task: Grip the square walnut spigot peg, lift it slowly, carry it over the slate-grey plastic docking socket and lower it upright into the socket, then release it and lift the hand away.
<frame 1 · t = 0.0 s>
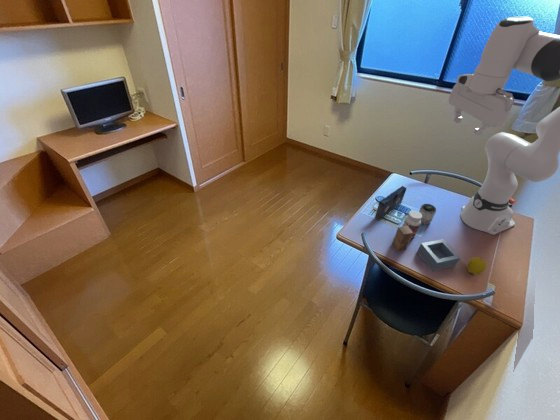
hand: (466, 128, 92), 48 cm above the table, tool pointing down, fingers open, 8 cm apart
pill bottle: (407, 233, 123), on the table
walnut spigot peg: (398, 247, 117), on the table
camera lens: (423, 220, 130), on the table
docking socket: (435, 258, 112), on the table
vhs cassette tape: (387, 211, 134), on the table
lemon: (471, 272, 108), on the table
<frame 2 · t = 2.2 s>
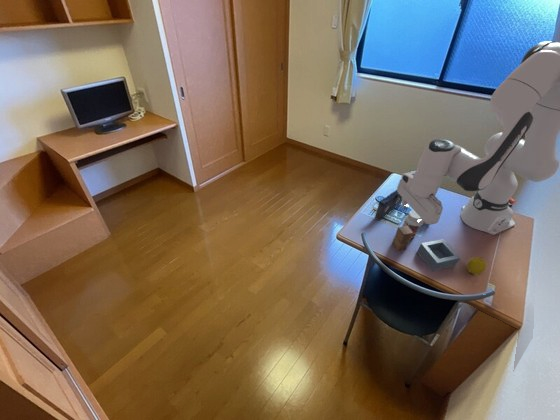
hand: (411, 216, 106), 17 cm above the table, tool pointing down, fingers open, 8 cm apart
nothing on the table moved.
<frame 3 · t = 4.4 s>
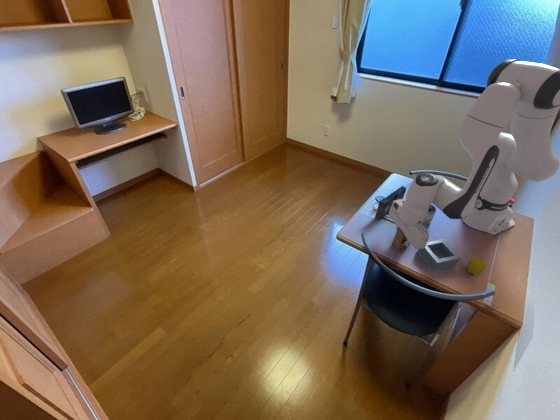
hand: (401, 239, 114), 5 cm above the table, tool pointing down, fingers closed on walnut spigot peg, 4 cm apart
walnut spigot peg: (398, 247, 117), on the table, touching gripper
everything else where it was.
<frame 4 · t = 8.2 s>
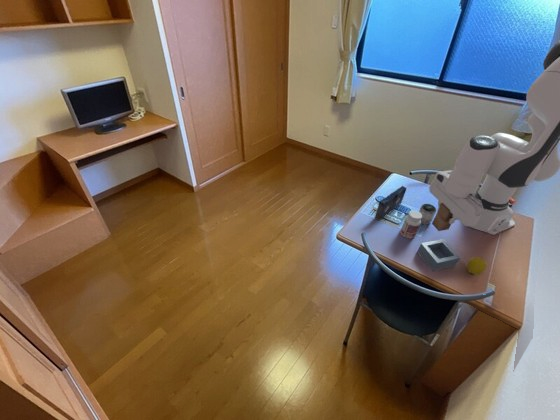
hand: (445, 217, 100), 21 cm above the table, tool pointing down, fingers closed on walnut spigot peg, 4 cm apart
walnut spigot peg: (440, 226, 103), point 16 cm above the table, touching gripper
everything else where it was.
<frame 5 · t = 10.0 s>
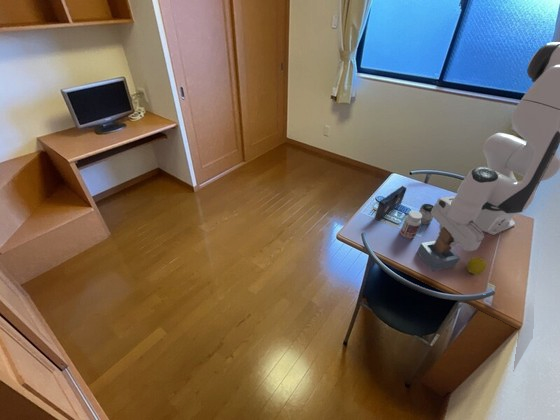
hand: (446, 240, 105), 11 cm above the table, tool pointing down, fingers closed on walnut spigot peg, 4 cm apart
walnut spigot peg: (441, 248, 108), point 6 cm above the table, touching gripper
everything else where it was.
when the fingers open (6 cm above the table, at t = 11.8 s): walnut spigot peg stays where it is, resting on docking socket.
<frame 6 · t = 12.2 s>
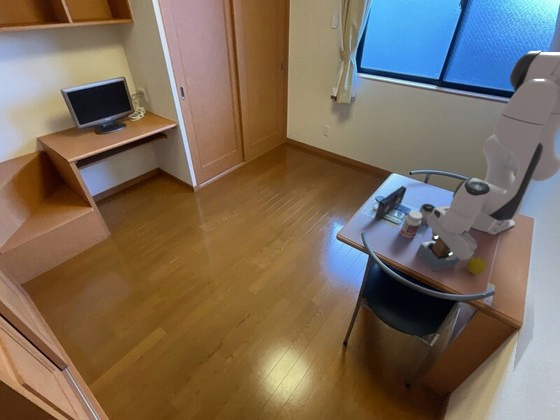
hand: (441, 248, 108), 6 cm above the table, tool pointing down, fingers open, 8 cm apart
walnut spigot peg: (436, 257, 112), point 1 cm above the table, touching docking socket
everything else where it was.
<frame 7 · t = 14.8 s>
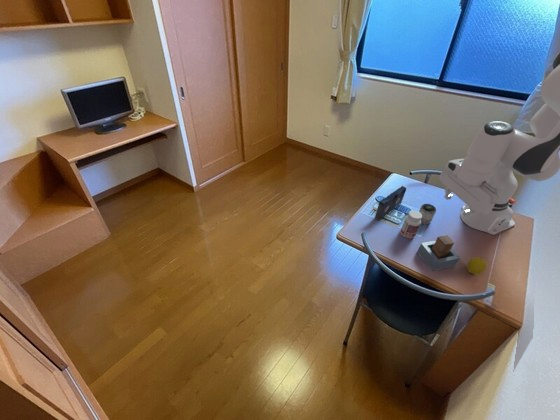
hand: (456, 206, 99), 24 cm above the table, tool pointing down, fingers open, 8 cm apart
nothing on the table moved.
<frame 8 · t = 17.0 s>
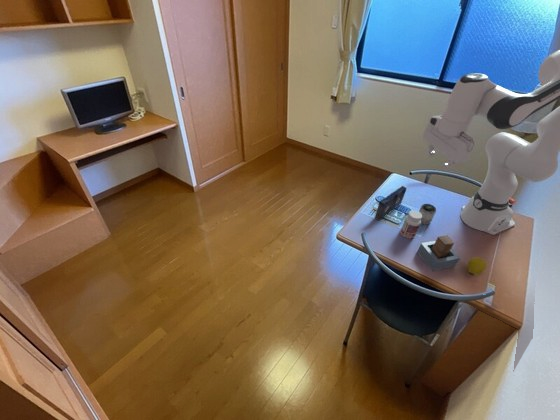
hand: (438, 161, 105), 33 cm above the table, tool pointing down, fingers open, 8 cm apart
nothing on the table moved.
at the end: walnut spigot peg 0.0 cm off-centre on the docking socket, point 1.0 cm above the docking socket's base; walnut spigot peg tilted 0°; the gripper is holding nothing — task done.
